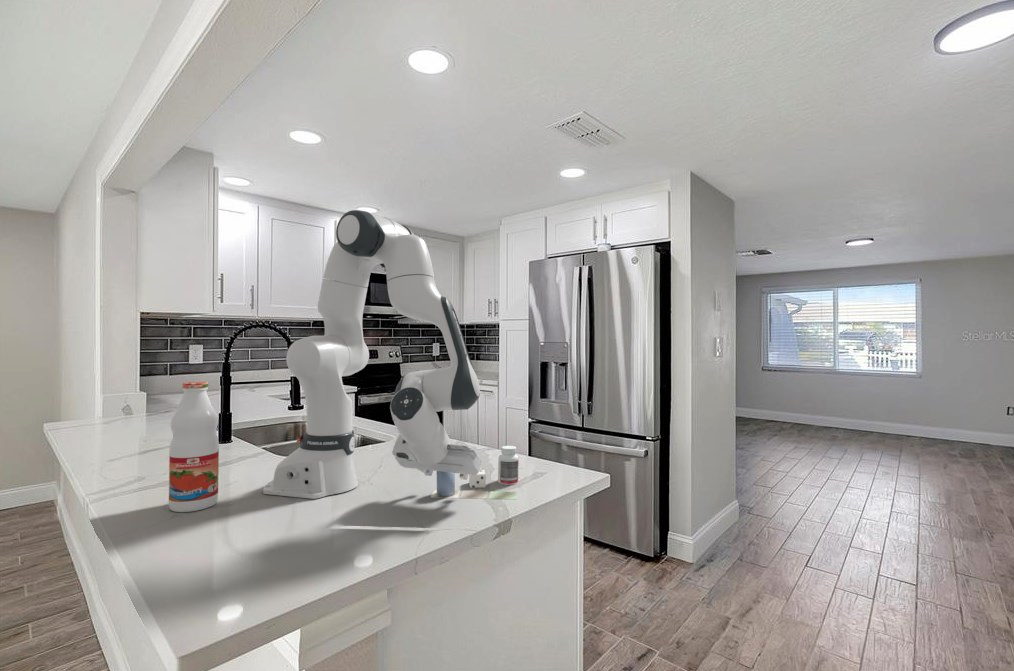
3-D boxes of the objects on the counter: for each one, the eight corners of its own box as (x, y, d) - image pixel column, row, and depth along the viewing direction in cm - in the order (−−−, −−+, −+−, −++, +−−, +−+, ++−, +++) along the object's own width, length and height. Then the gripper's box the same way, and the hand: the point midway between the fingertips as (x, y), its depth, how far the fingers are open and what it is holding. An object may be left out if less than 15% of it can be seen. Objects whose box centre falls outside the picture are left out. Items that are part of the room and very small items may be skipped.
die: (469, 490, 121) (470, 474, 121) (469, 485, 125) (469, 470, 125) (485, 489, 121) (485, 474, 121) (484, 485, 125) (484, 469, 125)
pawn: (434, 496, 114) (434, 461, 114) (439, 490, 118) (439, 456, 118) (452, 496, 113) (452, 461, 114) (456, 491, 118) (456, 457, 118)
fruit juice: (221, 496, 114) (222, 380, 114) (214, 509, 105) (216, 384, 105) (174, 501, 110) (175, 381, 110) (163, 515, 101) (165, 385, 101)
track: (426, 500, 113) (426, 497, 113) (430, 491, 119) (430, 489, 119) (520, 502, 112) (520, 499, 112) (520, 493, 118) (520, 491, 118)
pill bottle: (522, 484, 126) (522, 448, 126) (505, 488, 123) (505, 450, 123) (510, 479, 130) (511, 444, 130) (494, 482, 127) (494, 446, 127)
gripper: (476, 435, 106) (490, 467, 116) (395, 429, 112) (414, 460, 121) (469, 460, 102) (483, 491, 111) (385, 452, 108) (406, 482, 117)
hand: (447, 475), depth 116 cm, fingers open, 8 cm apart
